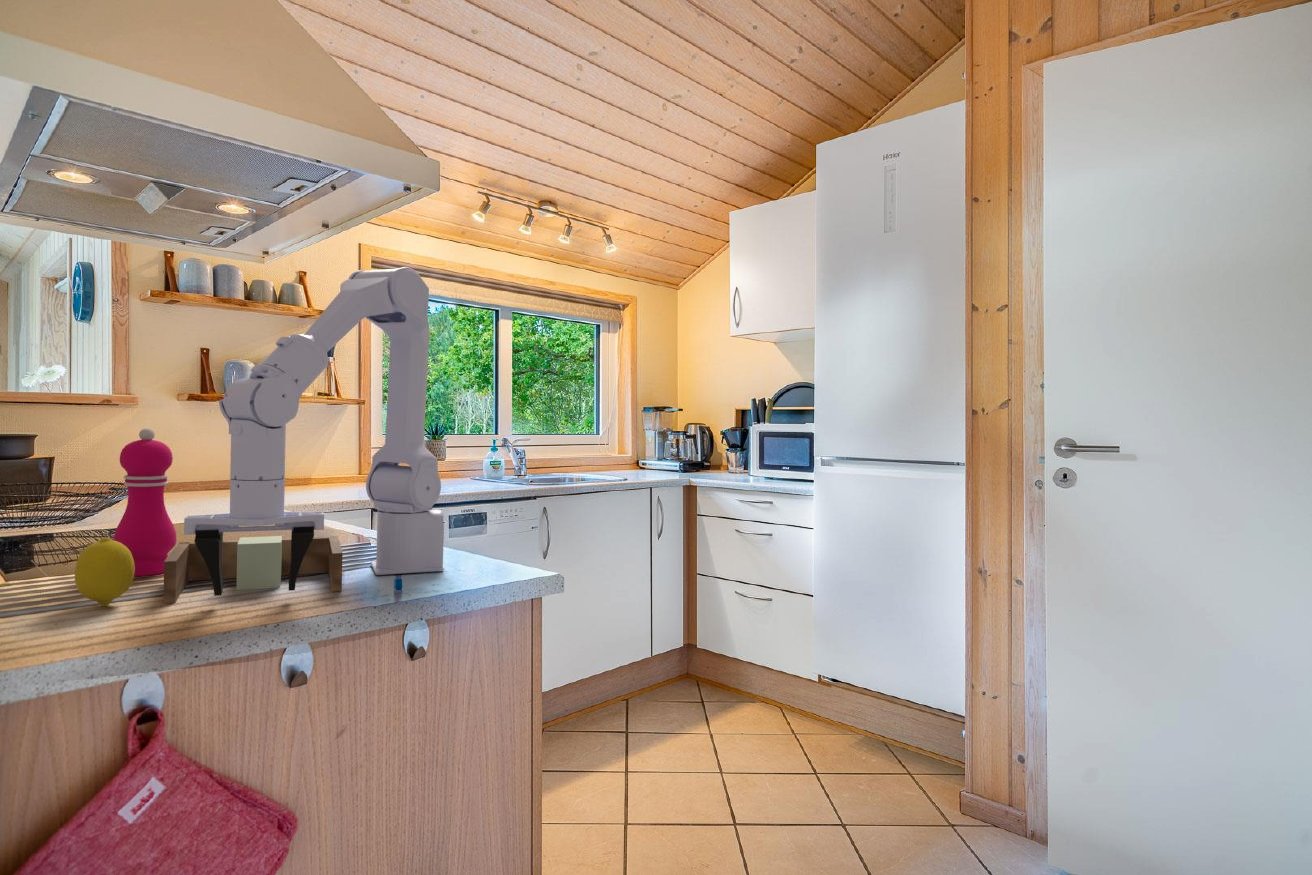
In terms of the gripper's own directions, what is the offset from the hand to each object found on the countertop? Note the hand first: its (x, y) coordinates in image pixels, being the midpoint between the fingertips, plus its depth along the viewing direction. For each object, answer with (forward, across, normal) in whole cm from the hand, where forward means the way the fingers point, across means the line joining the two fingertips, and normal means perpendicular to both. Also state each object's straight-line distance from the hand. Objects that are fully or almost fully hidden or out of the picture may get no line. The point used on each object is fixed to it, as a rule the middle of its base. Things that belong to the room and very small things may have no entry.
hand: (255, 591), depth 86 cm
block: (+2, 0, +10) cm, 11 cm away
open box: (+2, 0, +10) cm, 10 cm away
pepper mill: (+2, -14, +23) cm, 27 cm away
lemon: (+2, -16, +5) cm, 16 cm away
